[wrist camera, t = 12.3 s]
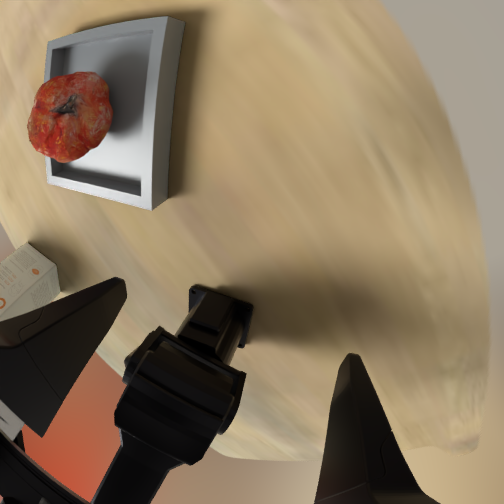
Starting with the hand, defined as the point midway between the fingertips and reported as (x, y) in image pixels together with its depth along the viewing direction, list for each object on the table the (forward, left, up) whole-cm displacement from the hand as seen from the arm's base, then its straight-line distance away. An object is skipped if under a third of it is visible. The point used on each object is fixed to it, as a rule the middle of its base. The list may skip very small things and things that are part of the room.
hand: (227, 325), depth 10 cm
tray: (+5, +17, -13) cm, 22 cm away
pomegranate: (+5, +18, -12) cm, 22 cm away
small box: (-19, +34, -13) cm, 41 cm away
